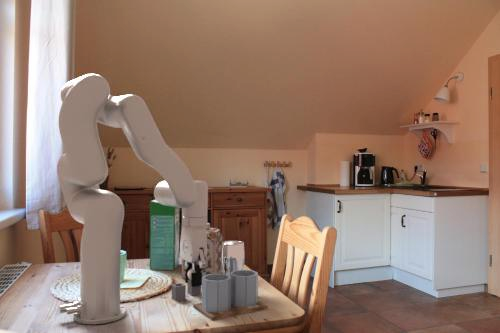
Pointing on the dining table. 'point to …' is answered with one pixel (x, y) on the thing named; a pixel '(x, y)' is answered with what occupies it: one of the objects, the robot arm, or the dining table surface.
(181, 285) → the stand
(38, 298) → the dining table surface
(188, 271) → the ivory ball
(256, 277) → the tubes
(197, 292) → the stand
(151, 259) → the milk carton
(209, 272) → the decorative jar
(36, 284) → the dining table surface
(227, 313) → the rack board
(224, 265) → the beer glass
